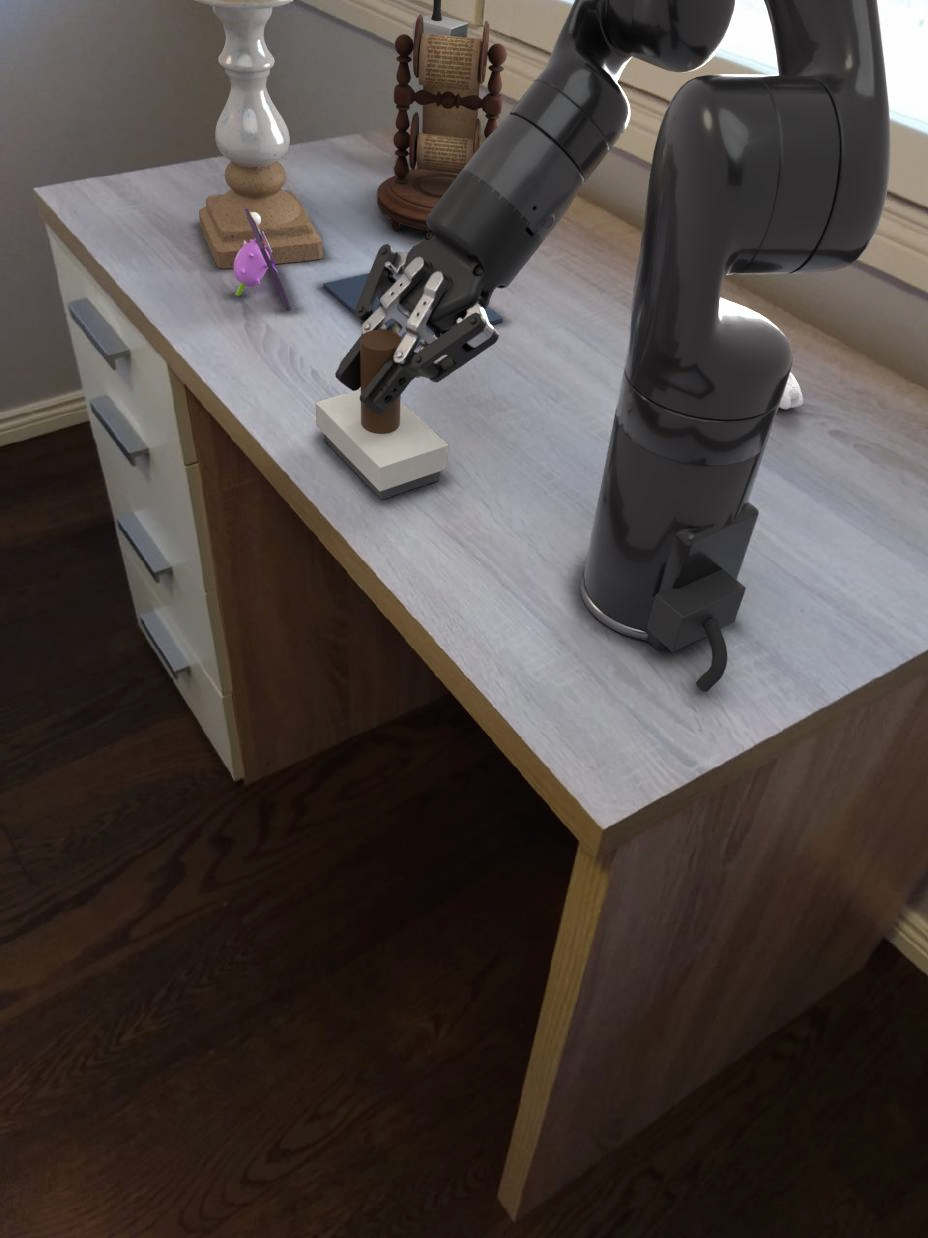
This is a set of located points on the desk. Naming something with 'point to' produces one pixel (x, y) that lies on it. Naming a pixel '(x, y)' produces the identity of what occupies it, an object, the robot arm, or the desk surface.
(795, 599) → the desk surface
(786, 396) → the white rounded piece
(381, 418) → the stamp
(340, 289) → the mat
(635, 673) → the desk surface
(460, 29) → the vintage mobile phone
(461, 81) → the scroll
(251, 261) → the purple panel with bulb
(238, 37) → the candle holder
